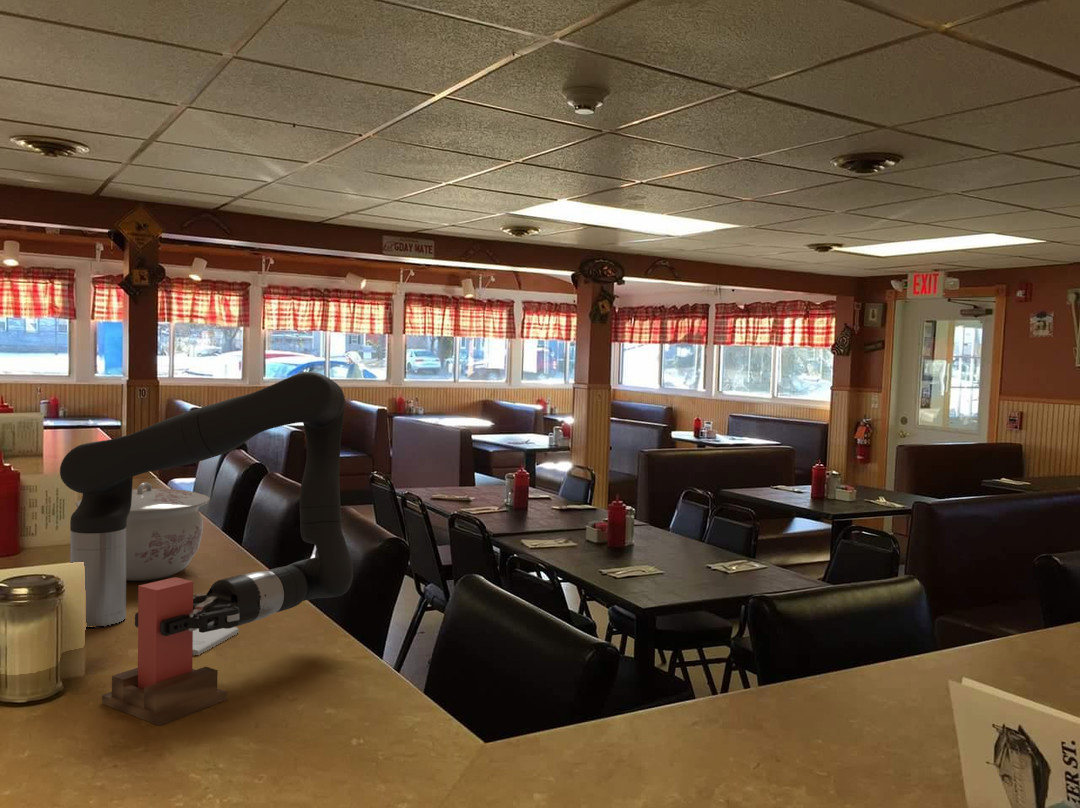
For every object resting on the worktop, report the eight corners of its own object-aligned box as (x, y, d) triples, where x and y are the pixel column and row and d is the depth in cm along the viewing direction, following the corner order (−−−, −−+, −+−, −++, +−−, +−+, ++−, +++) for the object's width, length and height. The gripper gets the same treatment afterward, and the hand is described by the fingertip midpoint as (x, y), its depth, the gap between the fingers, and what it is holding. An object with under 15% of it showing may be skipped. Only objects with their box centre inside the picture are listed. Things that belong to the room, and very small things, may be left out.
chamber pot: (90, 597, 175) (90, 495, 174) (63, 568, 197) (63, 478, 195) (229, 578, 193) (230, 486, 192) (190, 554, 214) (191, 471, 213)
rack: (102, 703, 123) (102, 674, 123) (170, 680, 133) (170, 653, 133) (159, 725, 117) (159, 695, 116) (226, 699, 126) (227, 671, 126)
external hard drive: (238, 636, 156) (198, 659, 144) (197, 632, 158) (154, 654, 145) (239, 627, 156) (198, 649, 144) (198, 623, 157) (154, 644, 145)
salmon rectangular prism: (137, 696, 123) (138, 585, 122) (174, 683, 128) (175, 577, 127) (155, 703, 121) (156, 590, 120) (192, 689, 126) (193, 581, 125)
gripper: (216, 567, 140) (118, 590, 125) (278, 581, 132) (182, 607, 118) (216, 613, 140) (117, 641, 126) (278, 630, 133) (181, 661, 118)
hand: (149, 624), depth 122 cm, fingers open, 5 cm apart
